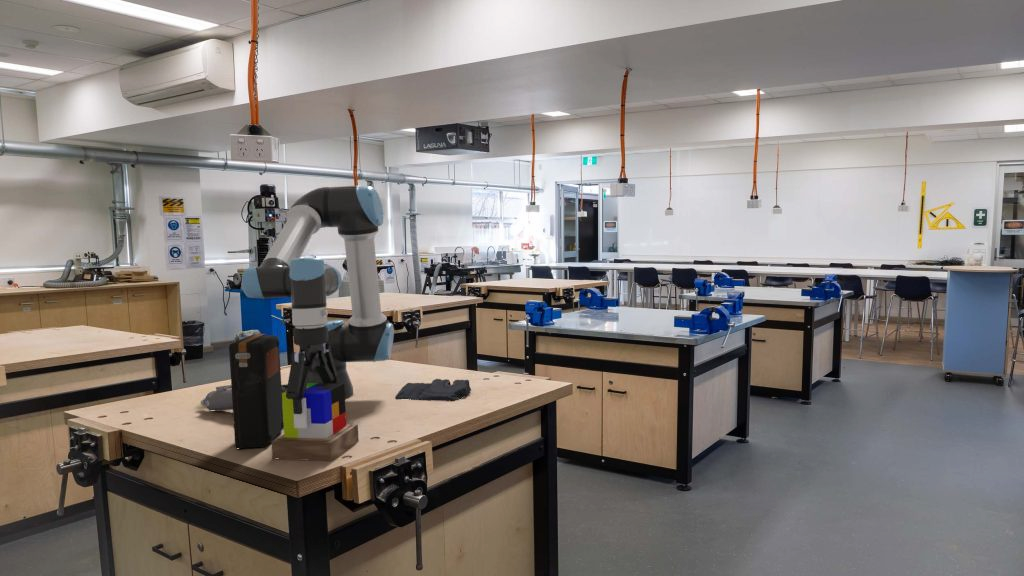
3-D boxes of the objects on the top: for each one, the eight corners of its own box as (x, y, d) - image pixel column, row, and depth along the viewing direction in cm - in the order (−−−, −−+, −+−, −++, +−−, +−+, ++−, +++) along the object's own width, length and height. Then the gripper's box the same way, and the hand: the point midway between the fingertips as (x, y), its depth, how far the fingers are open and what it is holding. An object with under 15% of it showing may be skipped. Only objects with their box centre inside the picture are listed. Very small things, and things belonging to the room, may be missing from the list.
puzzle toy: (326, 438, 139) (323, 393, 138) (284, 437, 141) (281, 393, 140) (346, 425, 149) (344, 383, 148) (307, 424, 151) (305, 383, 150)
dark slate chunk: (410, 389, 206) (409, 375, 205) (475, 390, 201) (475, 376, 200) (390, 401, 191) (390, 385, 191) (460, 403, 186) (460, 387, 186)
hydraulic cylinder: (285, 416, 166) (278, 379, 166) (196, 425, 183) (190, 391, 183) (306, 410, 173) (299, 373, 173) (218, 418, 190) (212, 385, 190)
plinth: (304, 439, 153) (303, 422, 153) (358, 440, 151) (357, 423, 150) (272, 459, 139) (271, 440, 139) (331, 460, 137) (330, 441, 137)
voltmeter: (252, 431, 162) (246, 334, 160) (287, 429, 162) (281, 332, 161) (230, 451, 146) (223, 343, 144) (269, 449, 147) (262, 341, 145)
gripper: (298, 333, 130) (303, 436, 132) (349, 319, 154) (353, 405, 156) (264, 334, 132) (270, 435, 133) (320, 319, 156) (325, 405, 157)
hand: (315, 419), depth 145 cm, fingers open, 12 cm apart
